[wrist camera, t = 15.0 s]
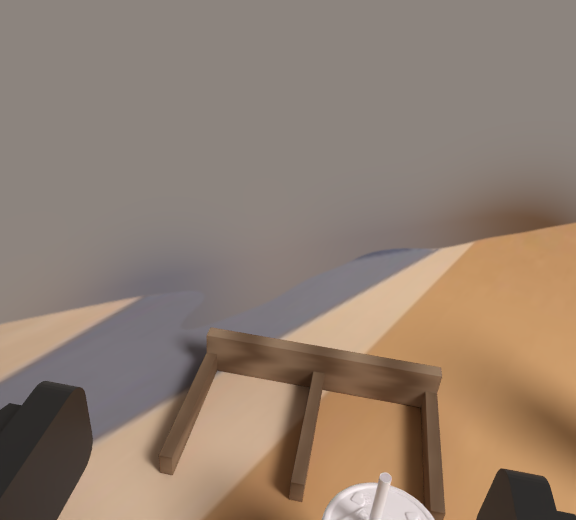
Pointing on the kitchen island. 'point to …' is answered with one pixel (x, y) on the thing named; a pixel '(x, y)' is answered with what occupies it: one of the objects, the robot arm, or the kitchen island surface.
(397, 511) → the smoothie
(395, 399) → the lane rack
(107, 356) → the kitchen island surface
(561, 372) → the kitchen island surface
